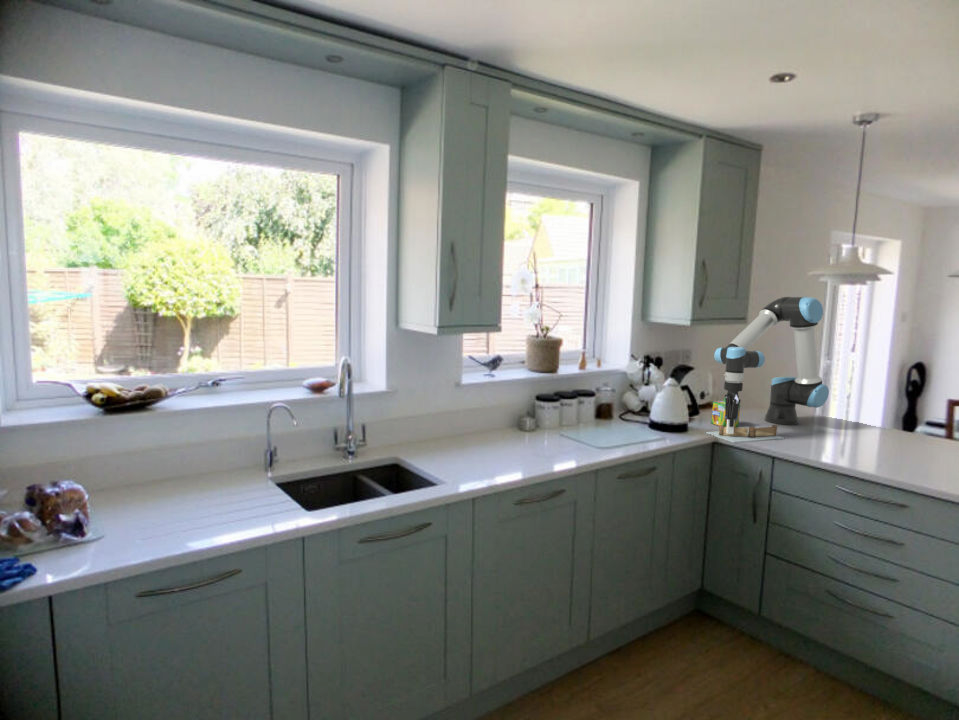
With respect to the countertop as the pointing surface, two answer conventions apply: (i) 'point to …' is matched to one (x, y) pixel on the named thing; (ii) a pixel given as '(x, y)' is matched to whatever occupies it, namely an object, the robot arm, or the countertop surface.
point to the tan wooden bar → (736, 431)
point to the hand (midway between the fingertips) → (729, 433)
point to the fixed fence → (762, 431)
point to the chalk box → (721, 414)
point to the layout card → (744, 437)
